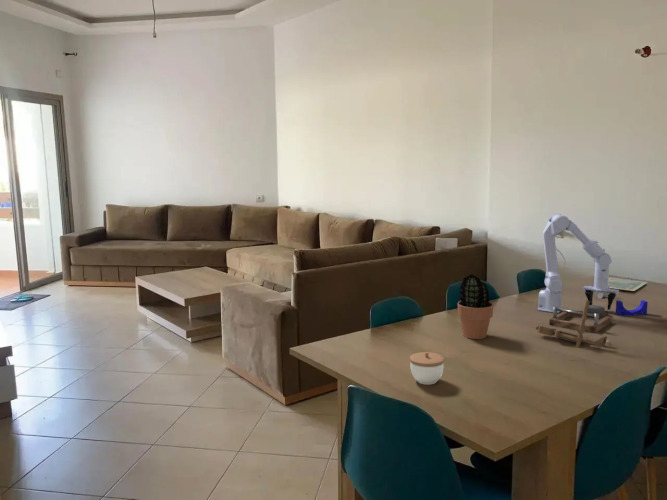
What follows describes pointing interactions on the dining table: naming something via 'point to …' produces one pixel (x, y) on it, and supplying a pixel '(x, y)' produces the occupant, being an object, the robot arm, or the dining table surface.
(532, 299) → the dining table surface
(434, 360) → the lidded jar
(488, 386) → the dining table surface
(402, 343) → the dining table surface
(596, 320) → the metal handle
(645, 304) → the blue curved piece
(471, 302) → the potted plant
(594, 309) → the grey round dome
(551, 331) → the wooden figure
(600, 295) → the architectural model
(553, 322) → the frame
